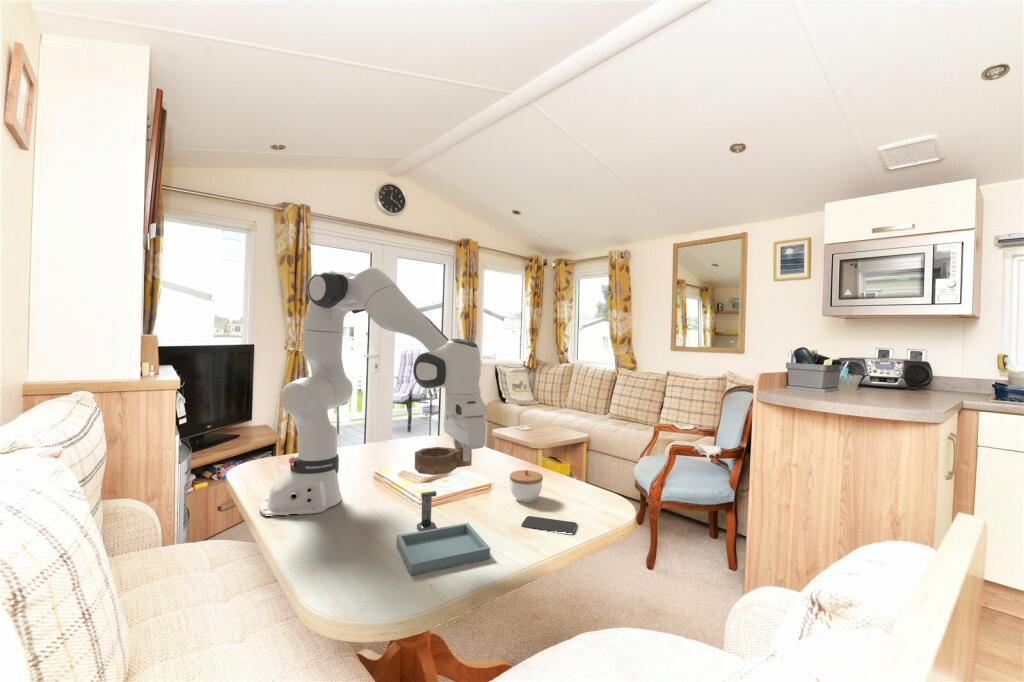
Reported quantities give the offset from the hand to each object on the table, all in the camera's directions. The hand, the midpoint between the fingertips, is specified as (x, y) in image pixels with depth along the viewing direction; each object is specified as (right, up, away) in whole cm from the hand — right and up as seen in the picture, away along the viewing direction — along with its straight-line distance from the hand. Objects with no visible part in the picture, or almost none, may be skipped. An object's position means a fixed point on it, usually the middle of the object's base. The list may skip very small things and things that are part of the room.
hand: (462, 458), depth 113 cm
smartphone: (+23, -23, +13) cm, 35 cm away
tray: (-5, -22, -4) cm, 23 cm away
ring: (-4, -2, -2) cm, 5 cm away
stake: (-11, -21, +9) cm, 26 cm away
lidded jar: (+17, -22, +32) cm, 42 cm away
